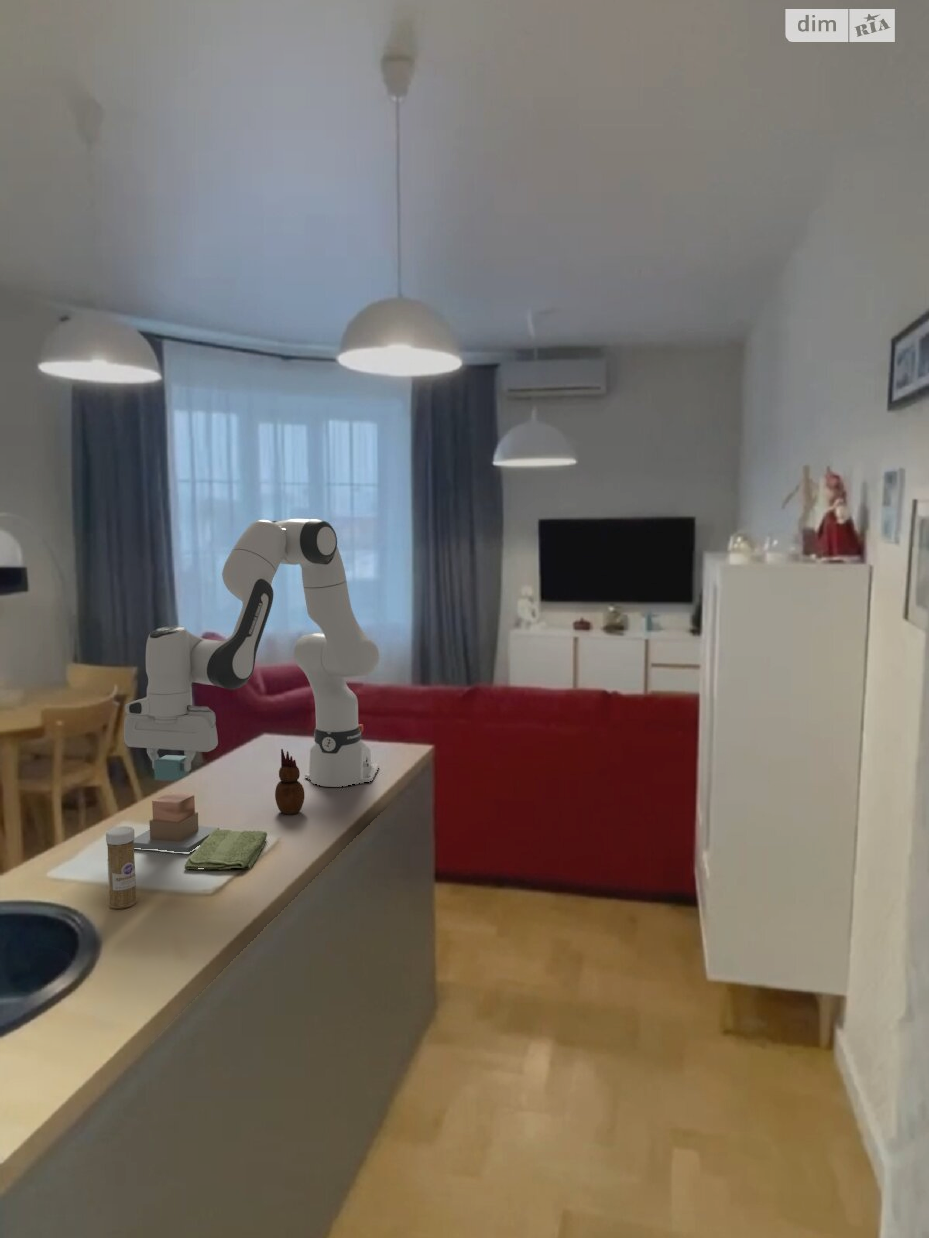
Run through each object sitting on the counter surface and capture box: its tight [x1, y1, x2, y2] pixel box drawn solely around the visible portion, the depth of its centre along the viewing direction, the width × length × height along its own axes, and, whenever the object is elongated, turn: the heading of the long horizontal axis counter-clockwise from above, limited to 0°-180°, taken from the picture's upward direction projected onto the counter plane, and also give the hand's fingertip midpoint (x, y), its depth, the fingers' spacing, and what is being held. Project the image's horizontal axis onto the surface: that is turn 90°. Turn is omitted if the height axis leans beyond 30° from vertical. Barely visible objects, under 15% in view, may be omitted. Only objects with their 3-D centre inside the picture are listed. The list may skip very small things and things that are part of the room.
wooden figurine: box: [274, 748, 305, 815], centre depth 193 cm, size 7×6×15 cm
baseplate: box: [133, 811, 220, 852], centre depth 175 cm, size 12×14×6 cm
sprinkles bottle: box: [105, 825, 138, 910], centre depth 144 cm, size 5×5×14 cm
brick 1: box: [153, 754, 190, 782], centre depth 173 cm, size 5×5×4 cm
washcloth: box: [184, 828, 268, 870], centre depth 168 cm, size 13×18×3 cm
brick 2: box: [151, 792, 196, 822], centre depth 174 cm, size 6×6×4 cm
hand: (171, 769), depth 173 cm, fingers closed on brick 1, 5 cm apart
